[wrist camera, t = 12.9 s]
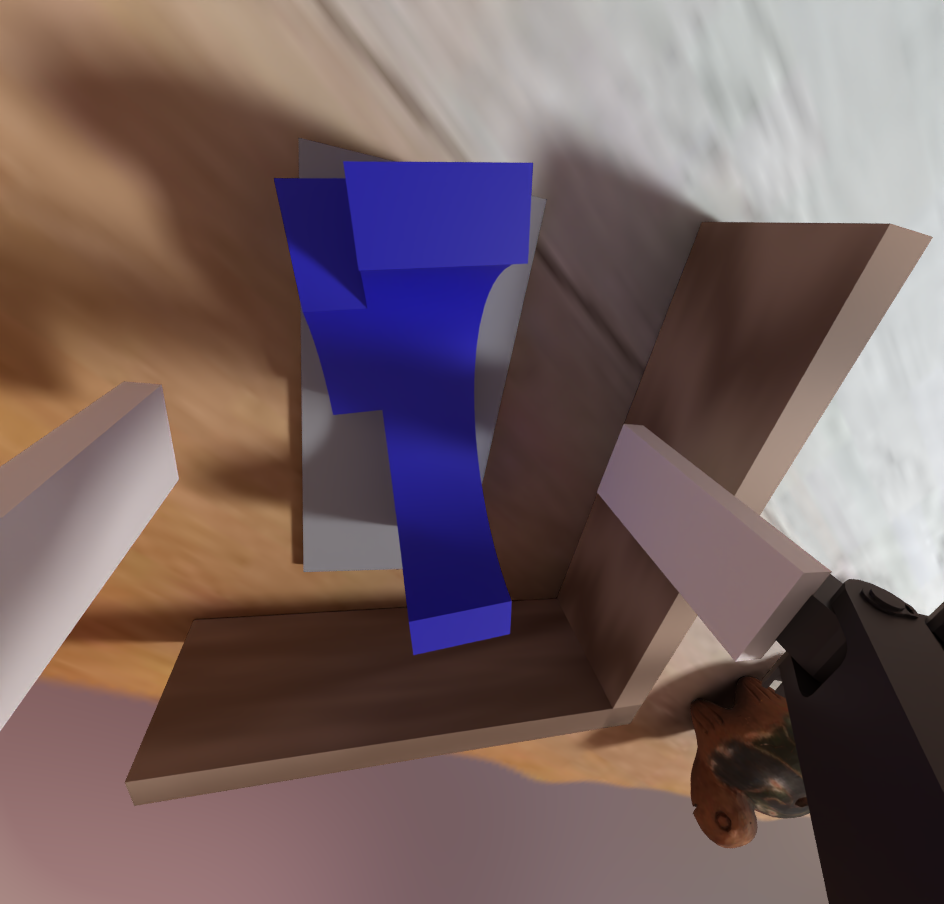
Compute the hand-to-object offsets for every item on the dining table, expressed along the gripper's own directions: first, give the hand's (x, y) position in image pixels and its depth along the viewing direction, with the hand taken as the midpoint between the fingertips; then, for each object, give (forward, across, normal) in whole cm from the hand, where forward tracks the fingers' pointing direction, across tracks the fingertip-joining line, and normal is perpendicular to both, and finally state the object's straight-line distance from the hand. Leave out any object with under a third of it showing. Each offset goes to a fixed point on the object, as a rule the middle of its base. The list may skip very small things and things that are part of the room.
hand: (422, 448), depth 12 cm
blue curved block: (+3, 0, +1) cm, 3 cm away
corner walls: (+3, +1, -2) cm, 4 cm away
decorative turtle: (+4, +30, -24) cm, 39 cm away
